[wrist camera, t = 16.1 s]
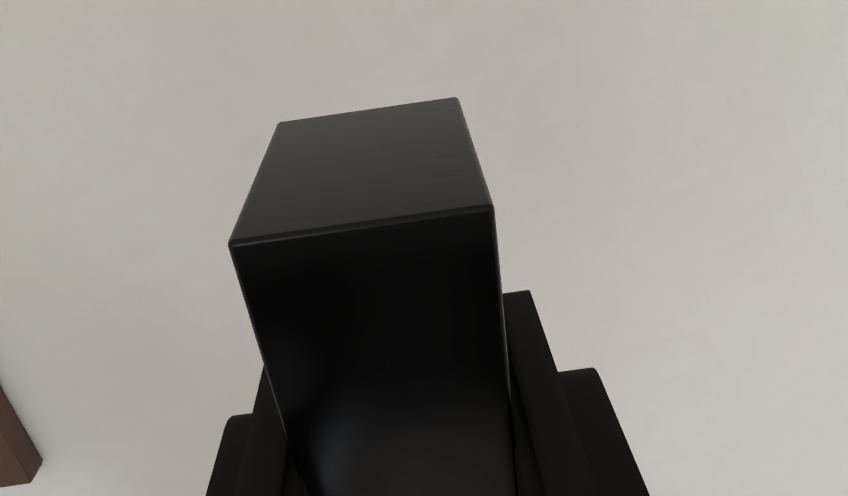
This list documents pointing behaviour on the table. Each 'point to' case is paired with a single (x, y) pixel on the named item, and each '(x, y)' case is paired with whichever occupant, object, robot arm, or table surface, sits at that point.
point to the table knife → (381, 303)
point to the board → (15, 449)
